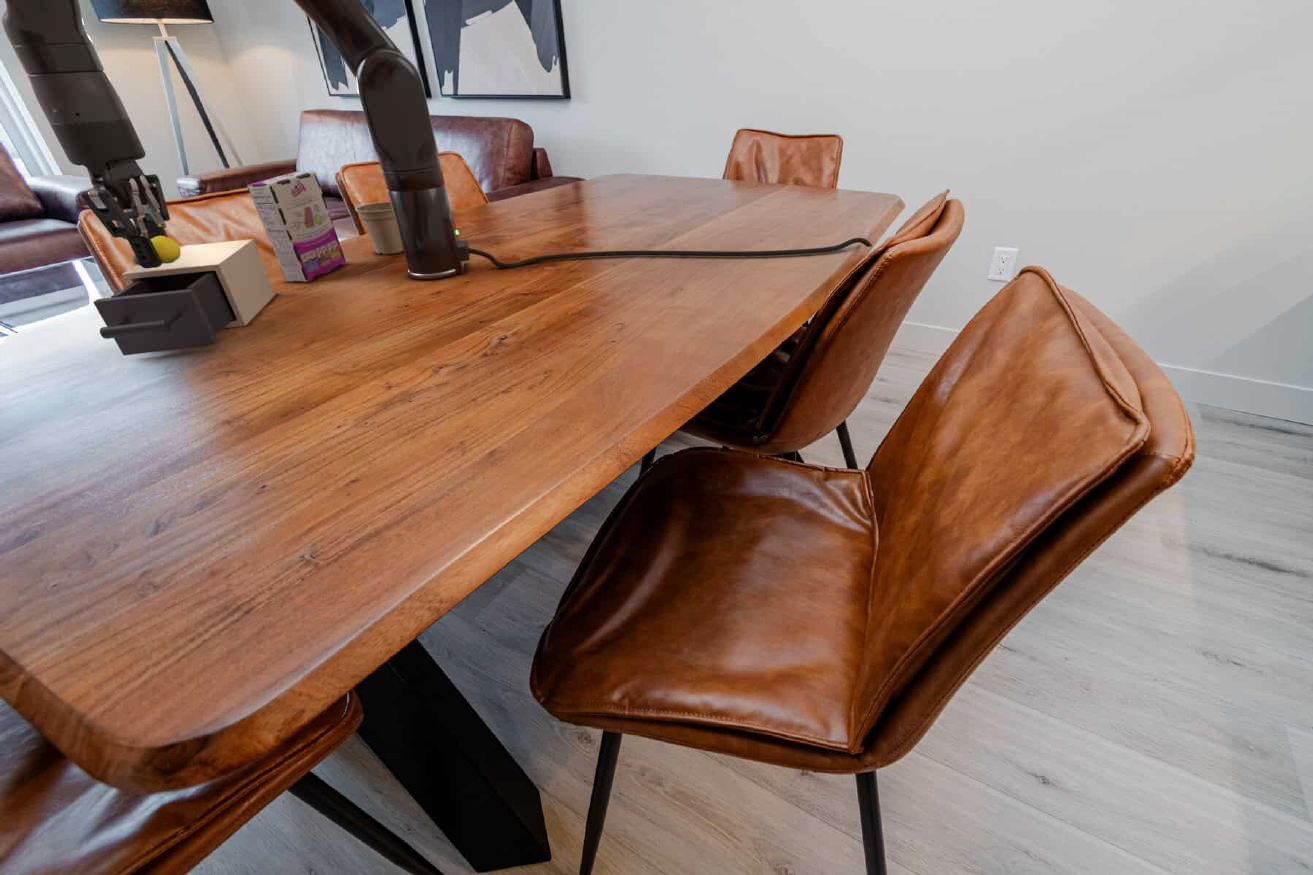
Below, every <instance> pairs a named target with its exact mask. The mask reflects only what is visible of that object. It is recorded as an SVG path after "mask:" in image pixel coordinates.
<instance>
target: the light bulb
mask: <svg viewBox="0 0 1313 875" xmlns="http://www.w3.org/2000/svg"><path fill="white" fill-rule="evenodd" d="M151 241H152V243H153V245H154V247H155V249H156V251H157V253H158V255H159V257H160V259H161V261H162V263H163V264H169V263H172V262H174V261H176V260H177V259H179V257H180V256H181V251H180V247H179V246H180V245H179V243H178V242H176V241H175V240H174V239H173V238H170V237H169V236H168V237H166V236H157V237H154V238H152V239H151ZM132 263H133V264H135V265H136V266H137V265H140V263H139V261H138V259H137V257H136V255H135V254H134V255H133V256H132ZM140 266H141V265H140Z"/></svg>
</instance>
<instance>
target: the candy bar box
mask: <svg viewBox="0 0 1313 875" xmlns="http://www.w3.org/2000/svg"><path fill="white" fill-rule="evenodd" d="M318 179H319V178H318V177H317V174H316V171H294V172H290V173H287V174H283V175H278V176H274V177H272V178H268V179H264V180H260V181H256V182H253V183H249V184H246V187H247V190H248V192H249V194H250V197H251V199H252V202H253V203H254V207H255V209H256V212H257V214H258V216H259V219H260V221H261V223H262V226H263V228H264V230H265V233H266V236H267V238H268V241H269V243H270V246H271V248H272V251H273V253H274V255H275V258H276V261H277V262H278V265H279V267H280V271H281V273H282V275H283V278H284V280H285V282H286V283H310V282H312V281H314V280H316V279H318V278H321V277H323V276H325V275H326V274H327V275H328V274H329V273H331V272H333V271H335V270H336V269H338V268H340V267H343V266H345V265H347V260H346V259H345V258H346V257H345V254H344V251H343V250H342V245H341V243H340V240H339V237H338V234H337V232H336V229H335V226H334V223H333V220H332V217H331V215H330V211H329V208H328V206H327V202H326V200H325V197H324V194H323V191H322V188H321V185H320V182H319V180H318Z"/></svg>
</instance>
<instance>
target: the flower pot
mask: <svg viewBox="0 0 1313 875" xmlns="http://www.w3.org/2000/svg"><path fill="white" fill-rule="evenodd" d="M354 210H355V212H356V213H358V215H359V218H360V219H361V220H362V221H363V224H364V226H365V228H366V231H367V233H368V236H369V237H370V240H371V243H372V245H373V247H374V249H375V252H376V253H377V254H378V255H380V254H383V255H395V254H400V253H402V252H404V251H403V247H402V244H401V240H400V236H399V233H398V229H397V225H396V221H395V218H394V214H393V210H392V207H391V203H390V200H389V201H379V202H372V203H367V204H363V205H360V206H357V207H355V208H354Z"/></svg>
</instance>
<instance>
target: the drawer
mask: <svg viewBox="0 0 1313 875" xmlns="http://www.w3.org/2000/svg"><path fill="white" fill-rule="evenodd" d="M92 304H94V307H95V308H96V310H97V311H98V314H99V315H100V317H101V318H102V321H103V322H104V324H105V326H102V327H100V328H99V334H100V336H101V338H102V339H104V340H109V339H113V340H114V342H115V343H116V345H117V346H118V349H119V350H120V352H121V353H122V355H123V356H132V355H140V354H148V353H154V352H155V353H156V352H164V351H173V350H180V349H181V350H182V349H190V348H197V347H205V346H212V345H216V344H217V343H218V342H219V341H218V338H217V335H218V334H219V333H220V332H221V331H222V330H223V329H225V328H224V327H225V326H226V325H227V324H228V323H229V322H230V321H231V320H232V319H233V318H234V317H235V314H234V311H233V309H232V307H231V305H230V302H229V300H228V298H227V296H226V293H225V291H224V289H223V287H222V284H221V282H220V280H219V278H218V275H217V273H216V270H214V271H205V272H195V273H185V274H175V275H166V276H156V277H146V278H141V279H139V280H137V281H136V282H134V283H132V284H131V285H129V286H128V285H126V286H125V287H124V288H123V289H121V290H119V291H117V292H115V293H114V294H112V295H111V296H110V297H104V298H98V299H95V300H94V301H93V303H92Z"/></svg>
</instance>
